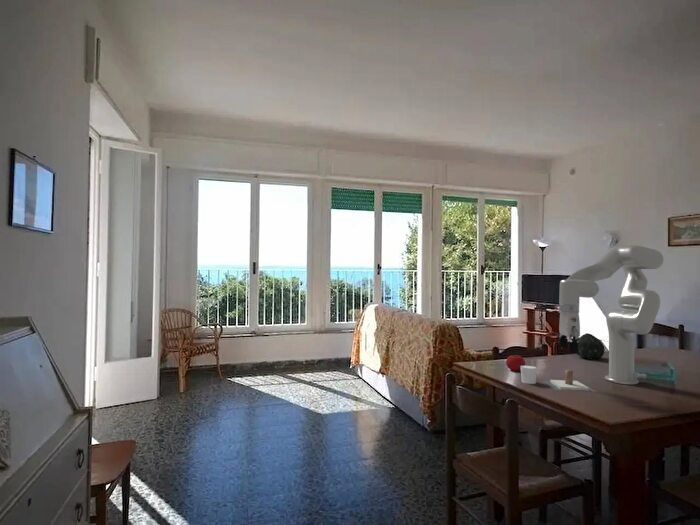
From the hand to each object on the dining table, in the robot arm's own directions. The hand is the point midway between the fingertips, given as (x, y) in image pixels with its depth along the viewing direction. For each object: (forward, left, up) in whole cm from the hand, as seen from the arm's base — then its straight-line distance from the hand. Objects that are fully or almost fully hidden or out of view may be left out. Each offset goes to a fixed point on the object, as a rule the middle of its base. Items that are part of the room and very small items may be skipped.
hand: (568, 349), depth 174 cm
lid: (-1, 0, -15) cm, 15 cm away
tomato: (+13, -27, -16) cm, 34 cm away
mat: (-1, 0, -16) cm, 16 cm away
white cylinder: (+14, -4, -16) cm, 22 cm away
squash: (-37, -65, -16) cm, 76 cm away
